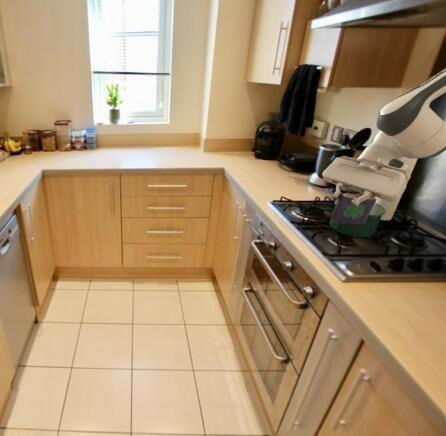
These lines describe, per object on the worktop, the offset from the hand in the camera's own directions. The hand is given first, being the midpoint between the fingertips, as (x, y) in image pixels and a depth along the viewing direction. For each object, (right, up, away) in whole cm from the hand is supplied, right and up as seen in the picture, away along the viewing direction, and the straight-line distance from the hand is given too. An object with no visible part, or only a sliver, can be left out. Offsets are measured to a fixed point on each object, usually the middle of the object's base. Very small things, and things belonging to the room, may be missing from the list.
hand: (344, 200), depth 92 cm
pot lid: (+18, -1, +18) cm, 26 cm away
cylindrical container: (+35, -4, +30) cm, 46 cm away
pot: (+18, -9, +22) cm, 30 cm away
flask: (+4, -6, +4) cm, 9 cm away
